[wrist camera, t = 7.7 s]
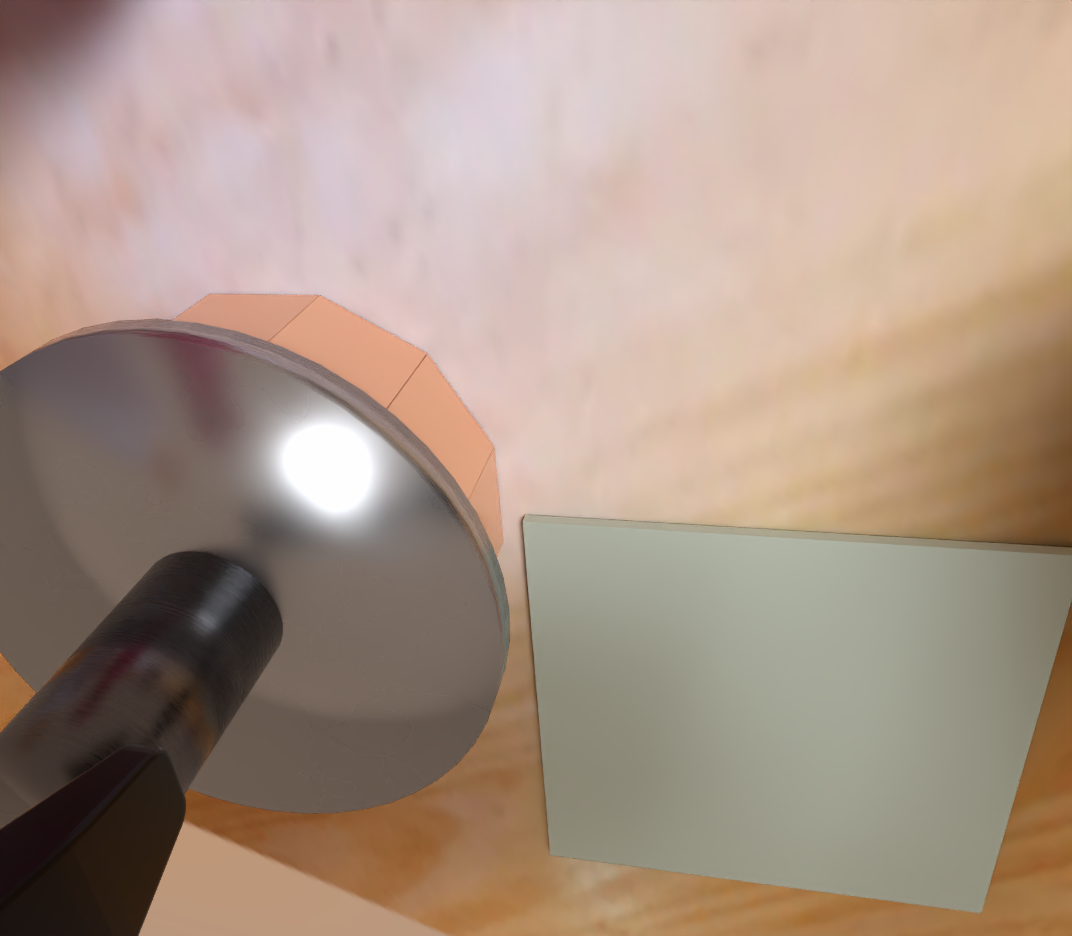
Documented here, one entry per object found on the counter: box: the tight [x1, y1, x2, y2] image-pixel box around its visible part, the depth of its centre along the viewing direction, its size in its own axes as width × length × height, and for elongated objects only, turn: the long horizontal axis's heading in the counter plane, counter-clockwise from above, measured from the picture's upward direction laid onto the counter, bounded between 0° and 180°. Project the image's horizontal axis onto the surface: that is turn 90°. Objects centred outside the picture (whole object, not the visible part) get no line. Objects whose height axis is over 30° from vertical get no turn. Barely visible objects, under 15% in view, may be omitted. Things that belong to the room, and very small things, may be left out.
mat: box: [523, 515, 1072, 913], centre depth 24 cm, size 12×12×1 cm
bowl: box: [173, 294, 503, 557], centre depth 21 cm, size 10×10×4 cm
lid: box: [0, 319, 510, 828], centre depth 17 cm, size 12×12×6 cm
